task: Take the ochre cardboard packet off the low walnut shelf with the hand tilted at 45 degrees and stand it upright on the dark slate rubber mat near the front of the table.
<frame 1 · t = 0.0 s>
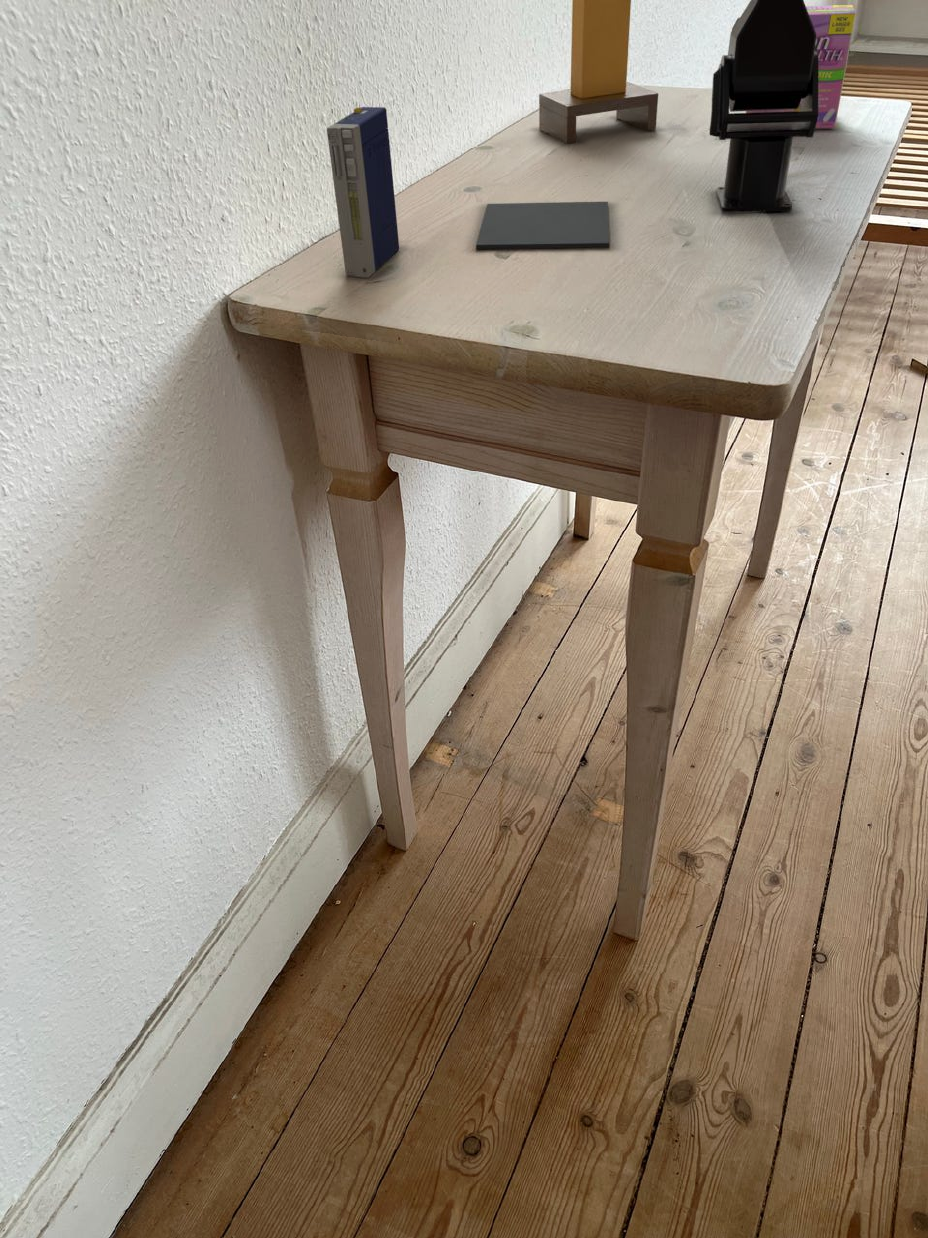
mat: (544, 226, 89), on the table
box: (788, 125, 113), on the table
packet: (598, 93, 113), point 4 cm above the table, touching shelf
cassette player: (373, 264, 84), on the table
shelf: (596, 129, 116), on the table
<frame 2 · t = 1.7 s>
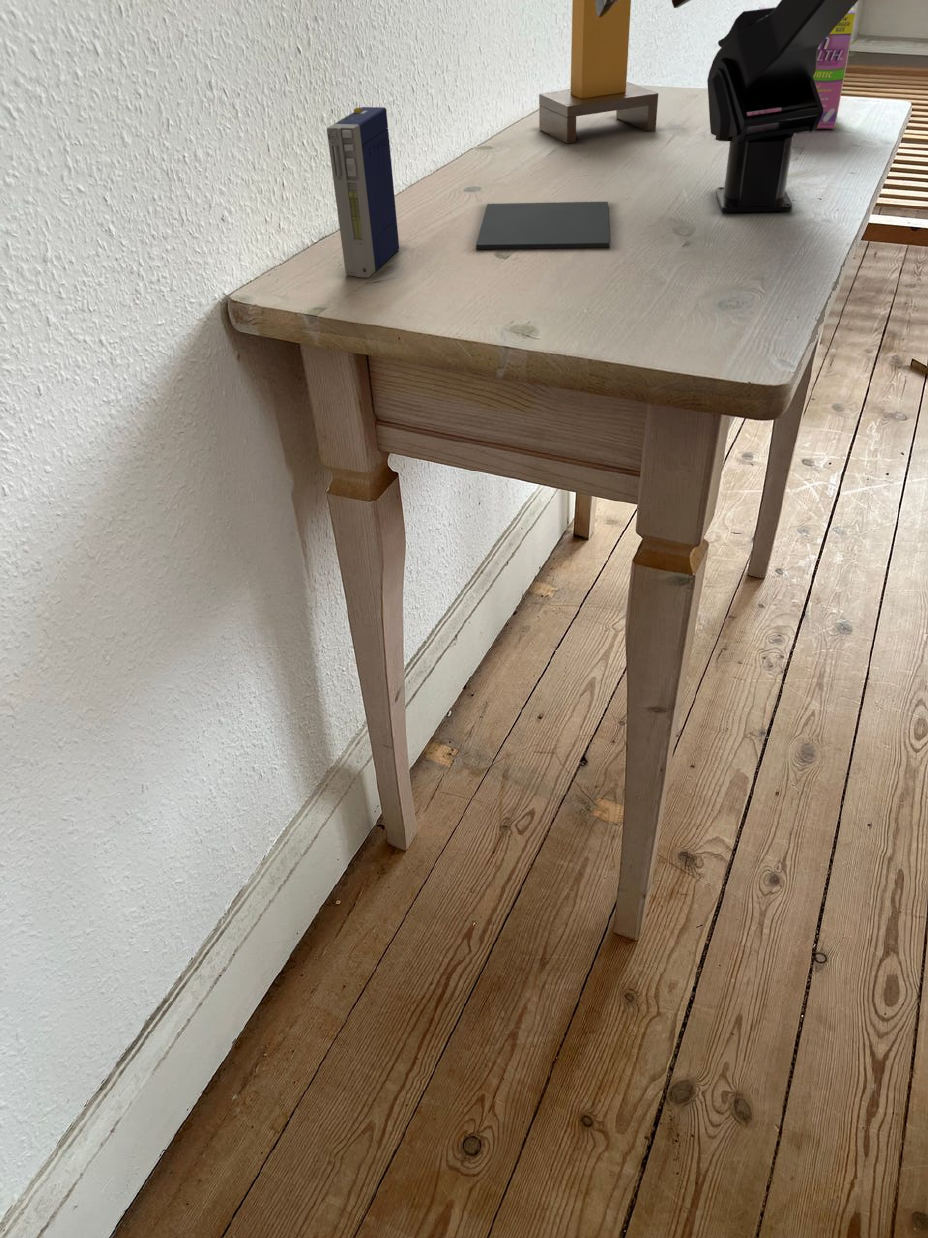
hand: (636, 8, 101), 13 cm above the table, tool tilted 45°, fingers open, 9 cm apart
nothing on the table moved.
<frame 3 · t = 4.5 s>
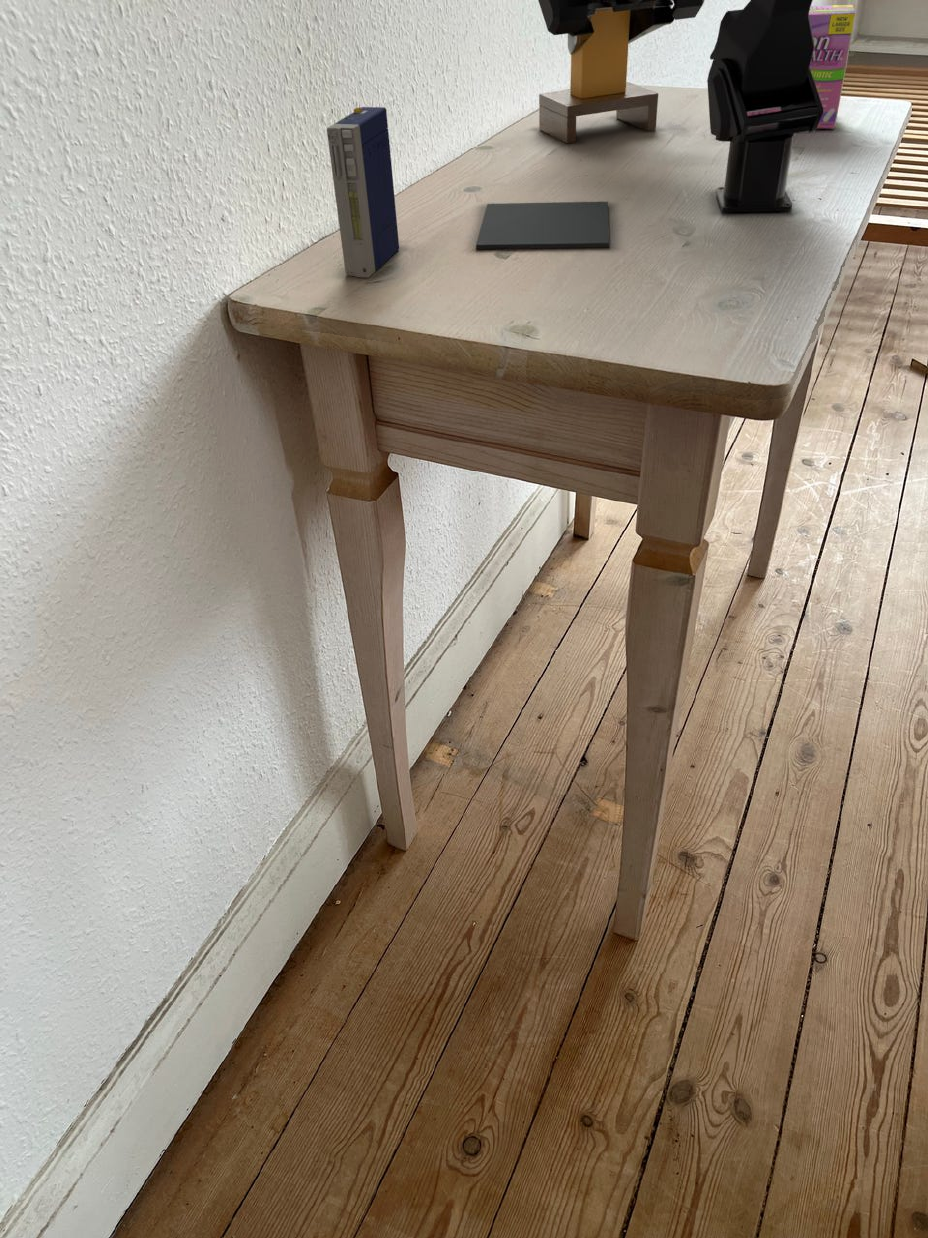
hand: (594, 47, 111), 9 cm above the table, tool tilted 45°, fingers closed on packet, 6 cm apart
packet: (597, 93, 113), point 4 cm above the table, touching gripper, shelf
everything else where it was.
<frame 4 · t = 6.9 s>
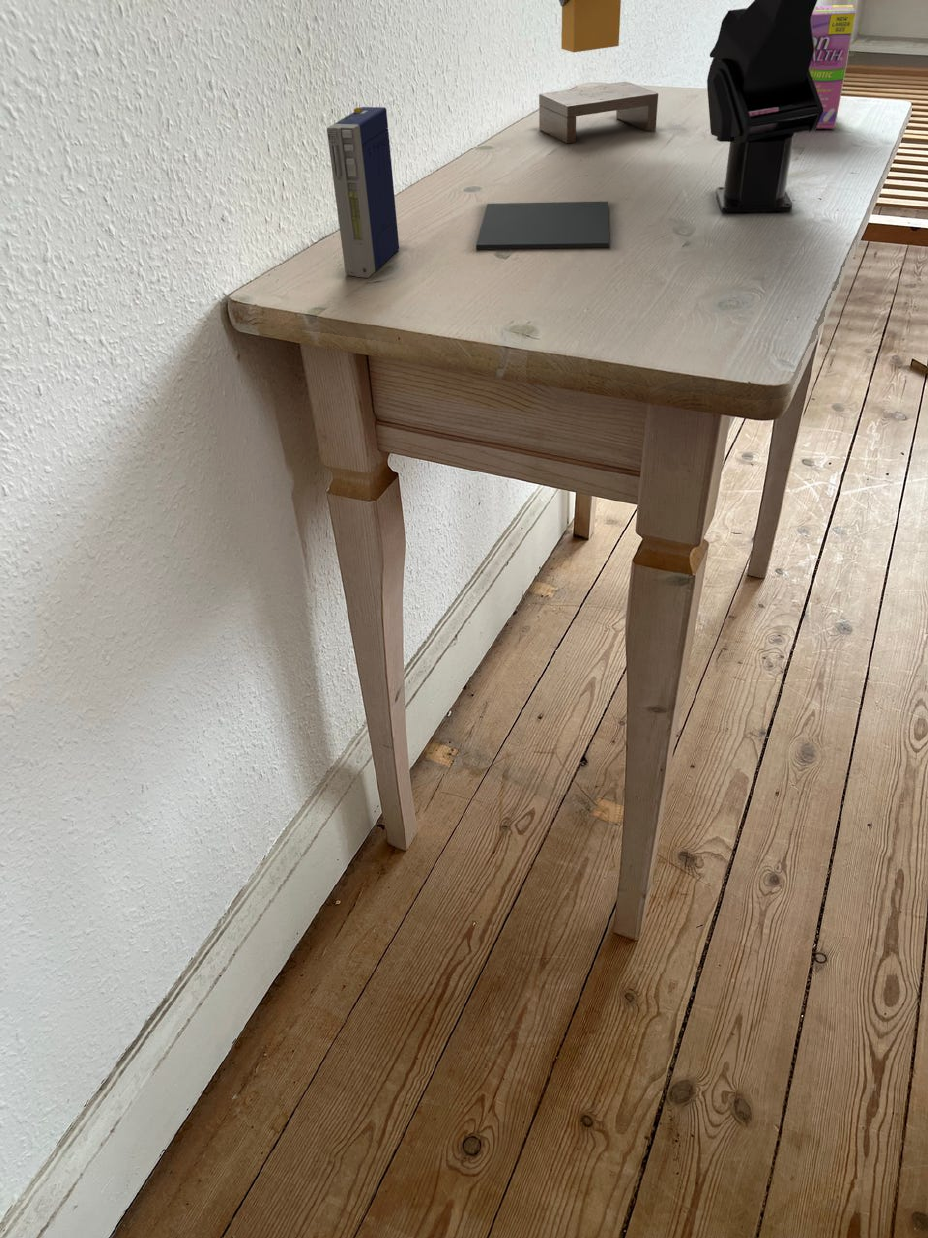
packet: (589, 47, 109), point 9 cm above the table, touching gripper
everything else where it was.
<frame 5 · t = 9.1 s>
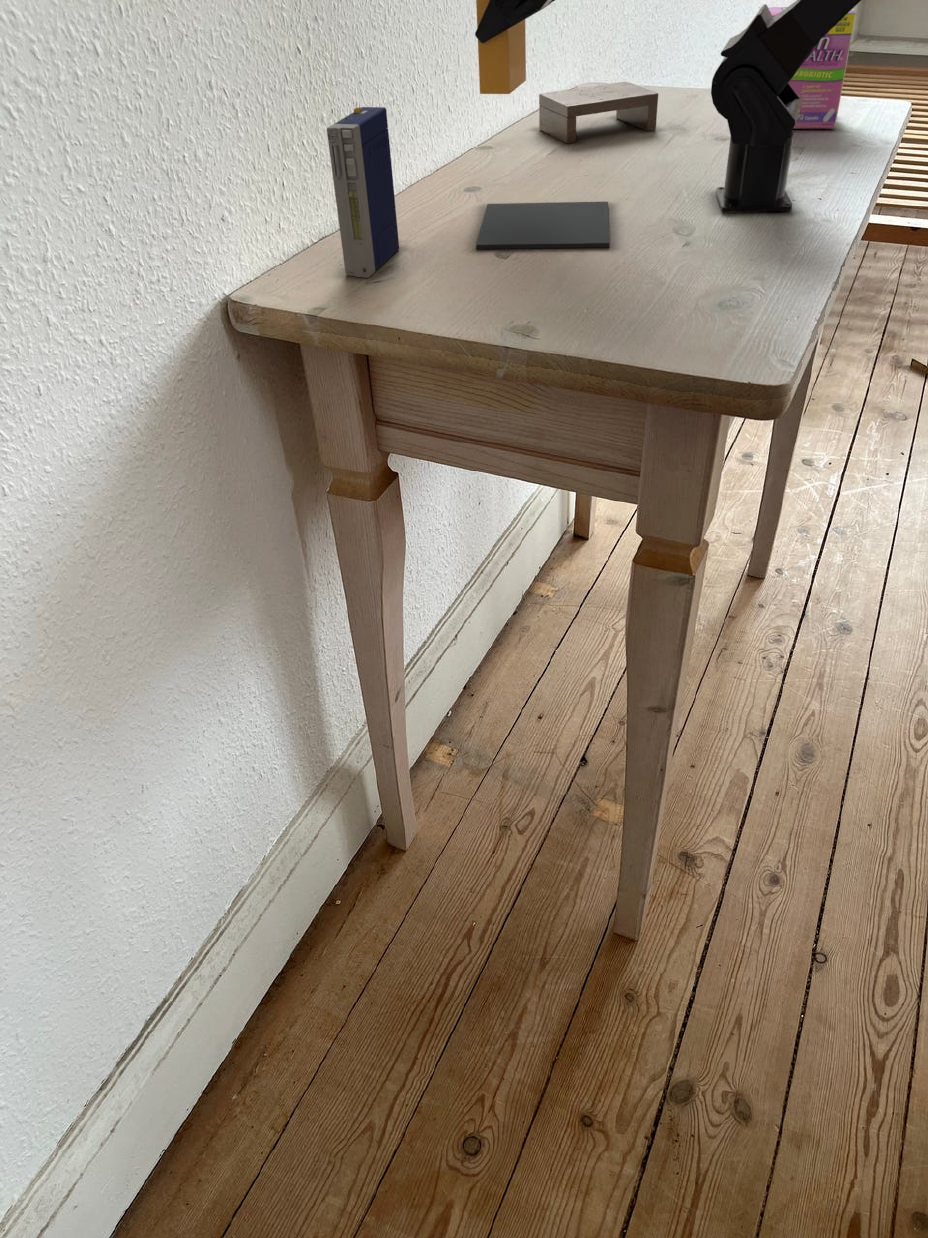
hand: (488, 32, 89), 14 cm above the table, tool tilted 45°, fingers closed on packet, 6 cm apart
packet: (503, 87, 92), point 10 cm above the table, touching gripper
everything else where it was.
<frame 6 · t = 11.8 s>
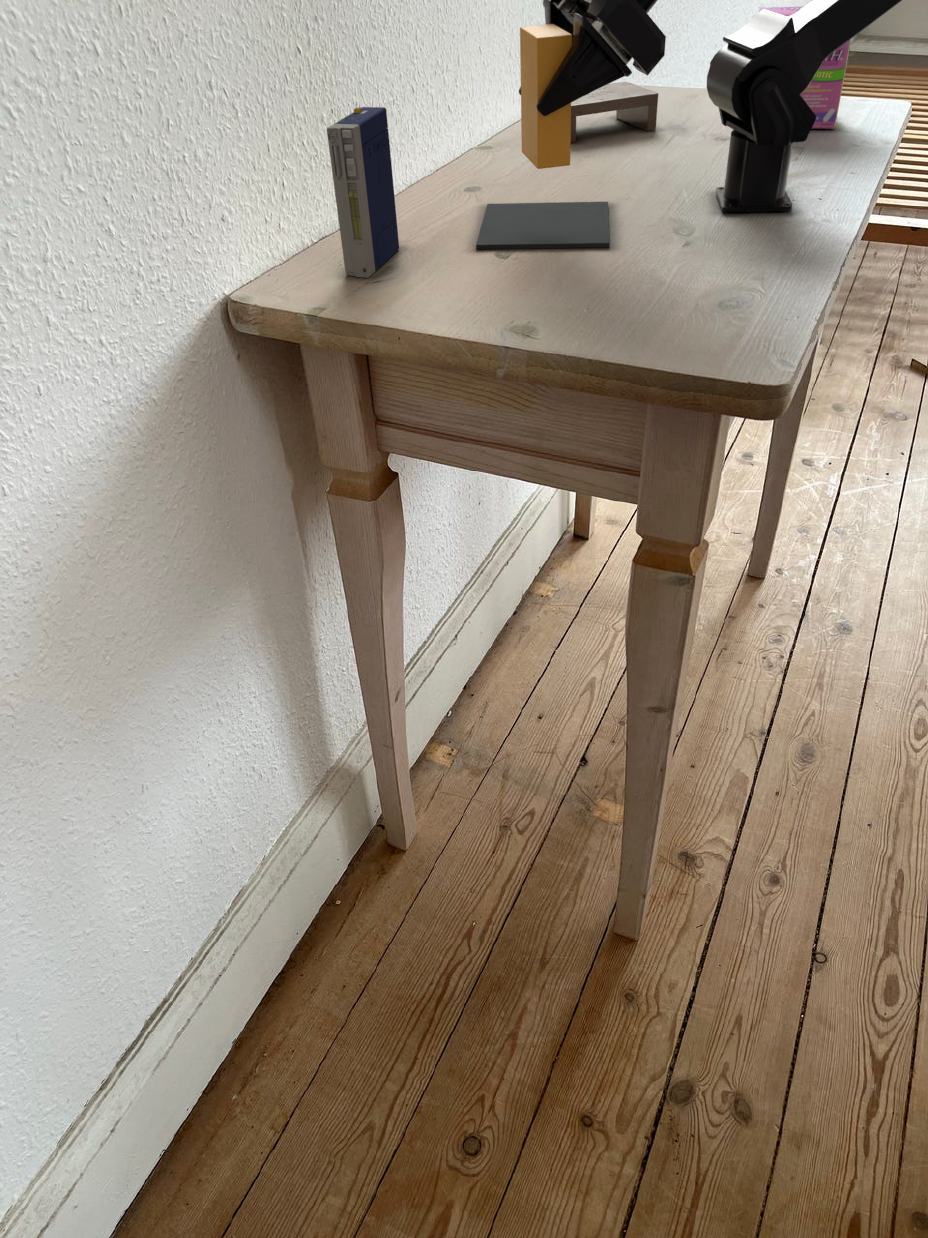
hand: (530, 103, 82), 11 cm above the table, tool tilted 45°, fingers closed on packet, 6 cm apart
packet: (545, 158, 85), point 6 cm above the table, touching gripper
everything else where it was.
when the fingers open (5 cm above the table, at t = 13.9 s): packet stays where it is, resting on mat.
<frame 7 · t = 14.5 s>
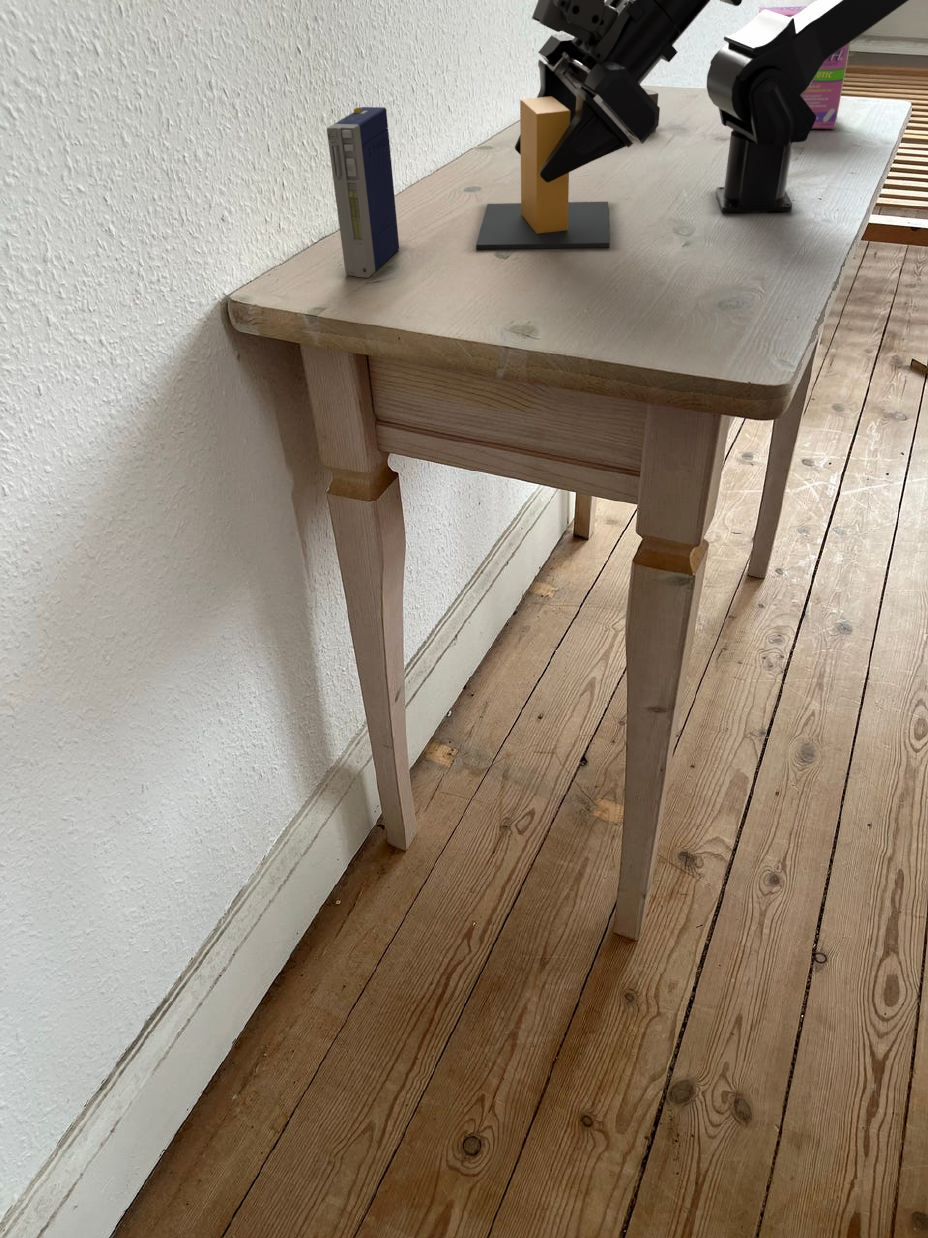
hand: (529, 164, 85), 6 cm above the table, tool tilted 45°, fingers open, 9 cm apart
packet: (543, 222, 89), resting on mat
everything else where it was.
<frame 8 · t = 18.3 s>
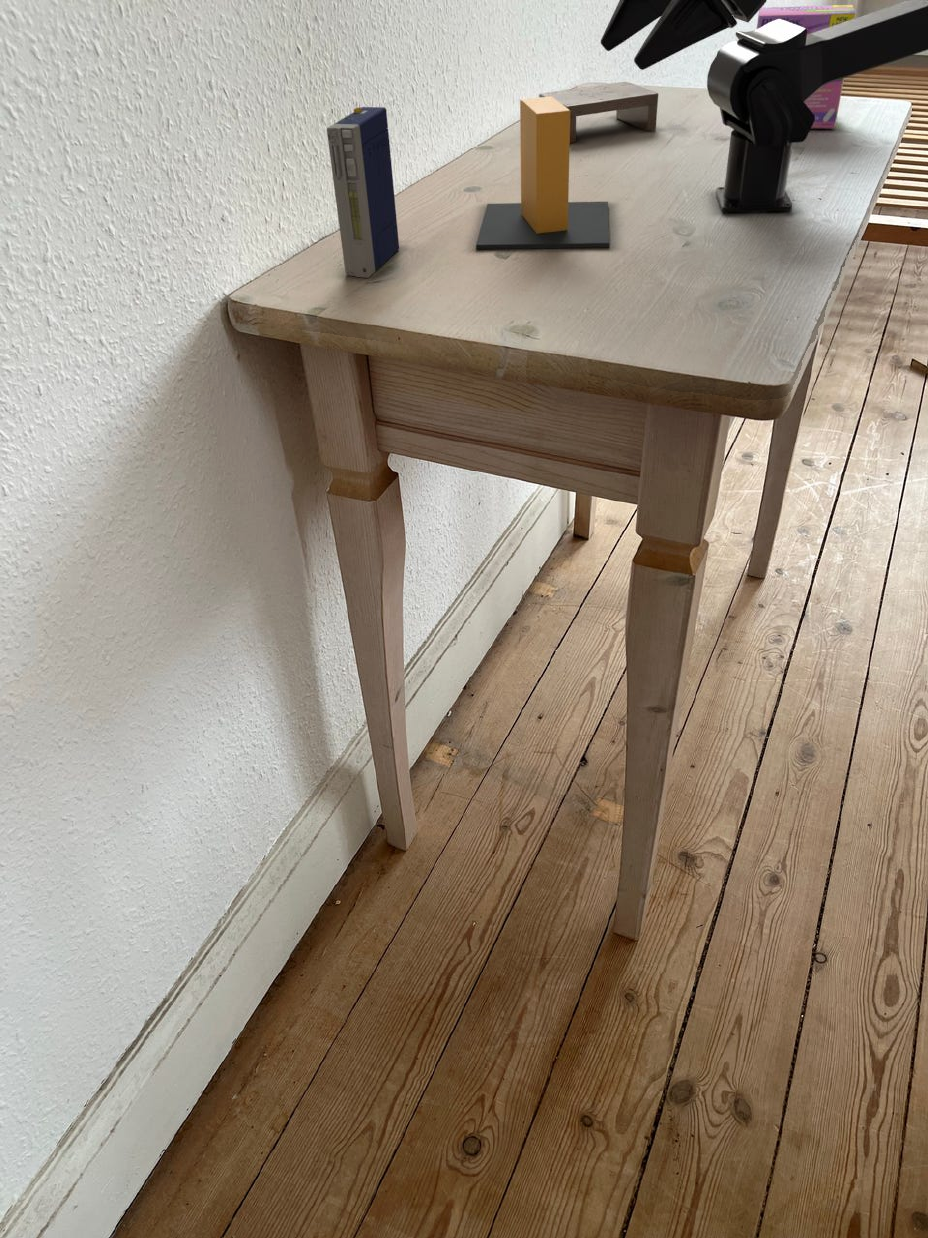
hand: (619, 55, 81), 14 cm above the table, tool tilted 45°, fingers open, 9 cm apart
nothing on the table moved.
at the end: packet inside the target area on the mat (0.1 cm from its centre), point 0.4 cm above the mat's base; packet tilted 0°; the gripper is holding nothing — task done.
